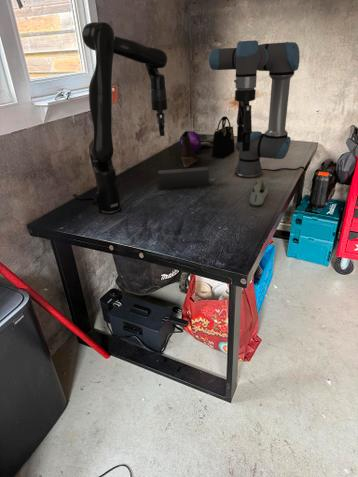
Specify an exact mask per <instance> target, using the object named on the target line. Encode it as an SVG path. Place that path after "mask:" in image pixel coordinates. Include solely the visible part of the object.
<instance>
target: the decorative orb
mask: <svg viewBox="0 0 358 477" xmlns="http://www.w3.org/2000/svg"><path fill="white" fill-rule="evenodd" d="M187 131H188V132H189V137H190V142H191V145H192V149H193V152H195V153H196V152H197V151H198V150H199V149H200V145H201V140H202V139H201V137H200V135H199V134H198V133H197V132H195V131H192V130H187ZM181 138H182V135H181V136H180V138H179V140H178V141H179V142H178V143H179V148H180V149H181V150H182V140H181Z"/></svg>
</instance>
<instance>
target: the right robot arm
mask: <svg viewBox="0 0 358 477" xmlns="http://www.w3.org/2000/svg"><path fill="white" fill-rule="evenodd" d="M300 55H301V54H300V48H299V45H298V43H296V42H293V41H284V42H283V41H282V42H271V43H269V42H268V43H262V44H259V41H258V40H256V39H255V40H254V39H253V40H240V41H238V42H237V43H236V47H225V48H224V47H223V48H222V47H221V48H219V47H218V48H214V49H211V50H210V53H209V56H208V63H209V67H210V68H211V70H213V71H230V70H235V79H234V80H233V83H234V84H235V90H234V101H235V102H238V107H237V115H236V125H237V126H236V127H237V128H236V143H239V150H238V162H237V165H236V167H235V169H234V174H235V176H236V177H239V178H243V179H255V178H259V177H261V176H262V175H263V171H266V172H277V171H285V170H287V171H298V170H300V169H303V170H305V169H306V168H305V167H304V166H299V167H296V168H290V167H281V168H277V169H276V168H275V169H270V168H262V165H261V158H263V159H273V160H283V159H285V158H286V156H287V154H288V152H289V149H290V145H291V140H292V139H291V137H290V136H288V134H289V132H288V131H287V130H286V123H287V115H288V106H289V96H290V84H291V78H292V77H293V76H295V72H296V71H298V70H299V67H300V61H301V60H300V58H301V56H300ZM258 71H259V72H268V77H269V78H270V79H271V87H270V98H269V110H268V111H269V112H268V123H267V130H266V131H265V132H264V134H265V135H262V131H259V130H257V131H253V129H252V128H253V127H252V126H253V125H252V107H253V106H252V104H250V102H253V101H255V100H256V92H257V90H256V88H257V77H258V76H257V72H258Z"/></svg>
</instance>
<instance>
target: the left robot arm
mask: <svg viewBox="0 0 358 477" xmlns="http://www.w3.org/2000/svg"><path fill="white" fill-rule="evenodd" d="M81 38H82V41H83V43H84V45H85V46H86V47H87V48H88V49H90V50H92V51H95V67H94V71H93V74H92V76H91V79H90V81H89V86H88V105H89V112H90V116H91V121H92V125H93V139H91V141H90V142H89V144H88V153H89V158H90V164H91V167H92V168H91V169H92V171H93V175H94V179H95V185H96V189H97V191H96V194H95V195H96V197H95V196H87V197H80V196H79V195H78V194H77V193H75V192H74V193H75V195H74V193H73V194H72V196H74V197H76V199H78V200H81V201H82V200H89V199H90V200H93V203H94V204H97V205H98V211H99V212H101V213H103V214H106V215H107V214H115V213H118V212H119V211H121V209H122V205H121V200H120V194H119V187H118V182H117V181H118V180H117V175H116V169H115V166H114V163H113V159H112V158H113V156H114V142H113V131H112V126H113V68H114V67H113V66H114V55H118V56H121V57H123V58H125V59H128V60H131V61H134V62H136V63H139V64H142V65H143V64H145V68H146V71H147V75H148V77H149V82H150V83H149V84H150V102H151V111H155V112H156V113H155V117H156V121H157V124H158V132H159V136H160V137H165V123H166V121H165V117H166V116H165V115H166V114H165V112H164V111H166V110H168V93H167V86H166V76H165V75H164V74H162V73H160V70H159V69H163V68H165V67H166V66H167V65H168V60H169V59H168V55H167V54H166V52H165V51H164V50H162V49H159V48H155V47H151V46H147V45H145V44H143V43H140V42H138V41H136V40H131V39H128V38H123V37H120V36H116V35H115V32H114V28H113V27H112V25H111V24H109V22H105V21H95V22H89V23H87V24H85V25H84V27H83V28H82V32H81Z"/></svg>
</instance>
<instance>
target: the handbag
mask: <svg viewBox="0 0 358 477" xmlns="http://www.w3.org/2000/svg"><path fill="white" fill-rule="evenodd" d="M226 123H228V126H227V125H226ZM220 125H221V128H220ZM213 134H214V140H213V142H212V145H213V147H212V149H211V150H212V151H211V157H212V158H216V159H224V158H226V157H228V156H230V155H231V154H233V153H234V152H235V151H236V149H235V148H236V145H235V134H234V126H231V122H230V120H229V117H227V116H226V115H225V116H222V117H221V118H220V120H219V122H218V125H217V128H215V130H214V132H213Z"/></svg>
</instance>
